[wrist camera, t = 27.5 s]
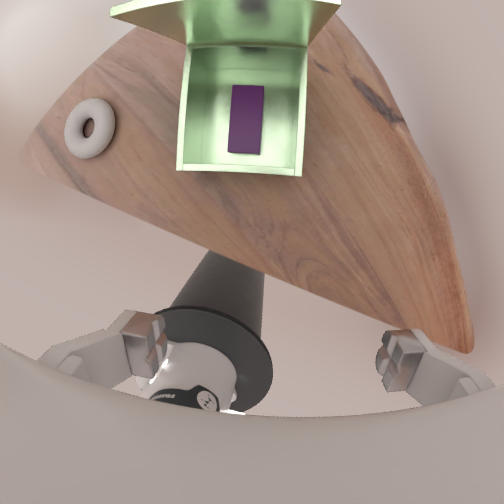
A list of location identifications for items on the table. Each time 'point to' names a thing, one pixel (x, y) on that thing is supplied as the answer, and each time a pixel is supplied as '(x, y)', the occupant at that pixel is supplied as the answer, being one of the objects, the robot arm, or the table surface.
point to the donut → (101, 132)
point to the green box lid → (230, 19)
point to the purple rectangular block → (246, 119)
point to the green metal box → (219, 101)
